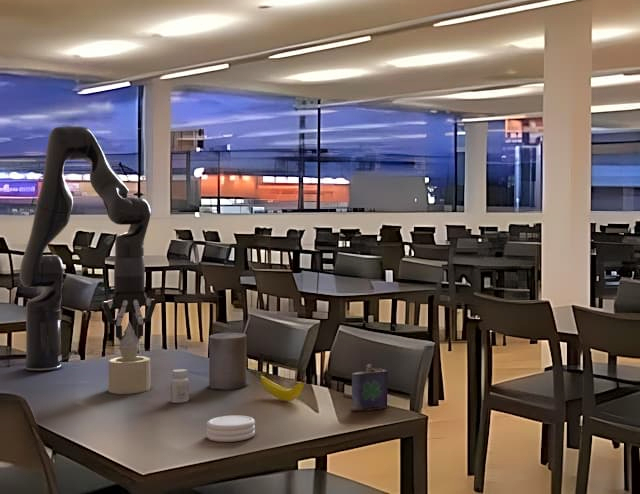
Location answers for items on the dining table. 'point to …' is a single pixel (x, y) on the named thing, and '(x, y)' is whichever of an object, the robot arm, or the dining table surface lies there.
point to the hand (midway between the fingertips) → (129, 338)
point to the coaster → (230, 428)
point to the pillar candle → (227, 361)
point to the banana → (282, 389)
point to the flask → (369, 389)
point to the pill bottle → (179, 386)
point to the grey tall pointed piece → (129, 344)
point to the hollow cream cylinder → (129, 375)
